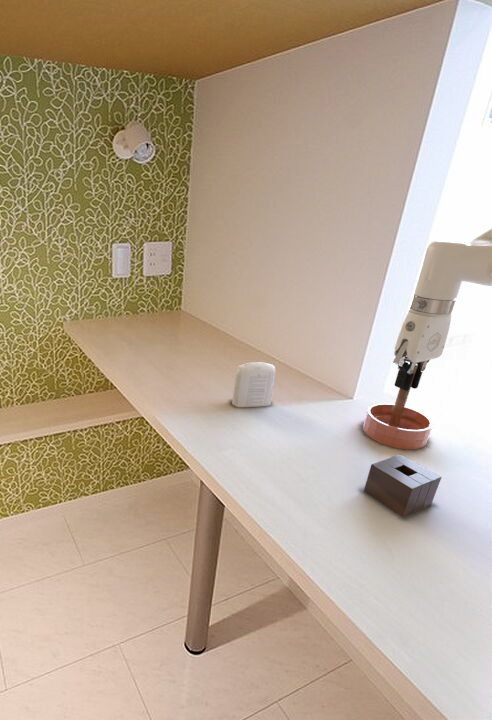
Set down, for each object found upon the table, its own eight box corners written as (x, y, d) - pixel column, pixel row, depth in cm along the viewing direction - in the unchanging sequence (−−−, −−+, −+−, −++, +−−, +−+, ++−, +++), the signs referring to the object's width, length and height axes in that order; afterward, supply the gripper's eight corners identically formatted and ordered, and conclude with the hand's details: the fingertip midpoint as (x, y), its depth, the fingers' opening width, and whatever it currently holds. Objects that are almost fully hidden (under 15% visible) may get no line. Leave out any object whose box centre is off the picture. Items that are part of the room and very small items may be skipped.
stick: (395, 425, 102) (415, 362, 95) (399, 430, 100) (419, 365, 93) (386, 425, 102) (405, 361, 95) (390, 429, 100) (410, 365, 93)
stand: (390, 483, 86) (400, 453, 83) (430, 508, 79) (442, 476, 76) (362, 494, 82) (371, 464, 79) (401, 521, 76) (412, 489, 73)
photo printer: (266, 401, 118) (272, 358, 112) (272, 408, 114) (279, 365, 109) (229, 403, 117) (234, 360, 111) (234, 410, 113) (240, 366, 107)
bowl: (408, 424, 107) (414, 404, 105) (437, 454, 95) (445, 432, 93) (353, 422, 108) (358, 402, 106) (375, 451, 96) (381, 429, 94)
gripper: (423, 313, 82) (397, 400, 90) (473, 305, 88) (444, 387, 96) (388, 304, 88) (366, 386, 96) (437, 297, 94) (412, 375, 102)
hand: (405, 386), depth 96 cm, fingers closed on stick, 2 cm apart
